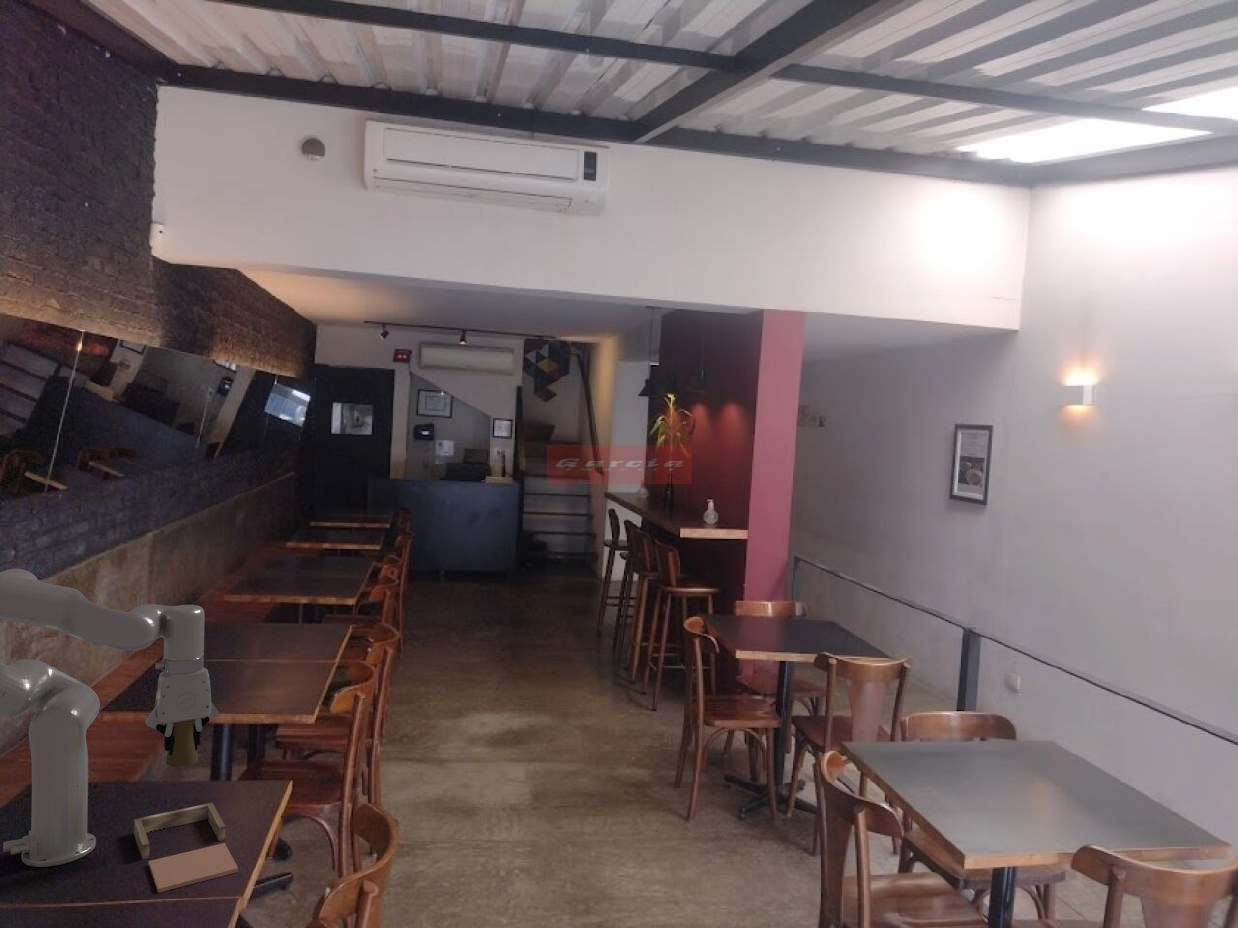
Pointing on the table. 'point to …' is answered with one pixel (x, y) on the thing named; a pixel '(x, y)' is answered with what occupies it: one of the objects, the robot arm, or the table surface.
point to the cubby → (176, 823)
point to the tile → (192, 867)
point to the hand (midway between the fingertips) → (182, 750)
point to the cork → (183, 745)
